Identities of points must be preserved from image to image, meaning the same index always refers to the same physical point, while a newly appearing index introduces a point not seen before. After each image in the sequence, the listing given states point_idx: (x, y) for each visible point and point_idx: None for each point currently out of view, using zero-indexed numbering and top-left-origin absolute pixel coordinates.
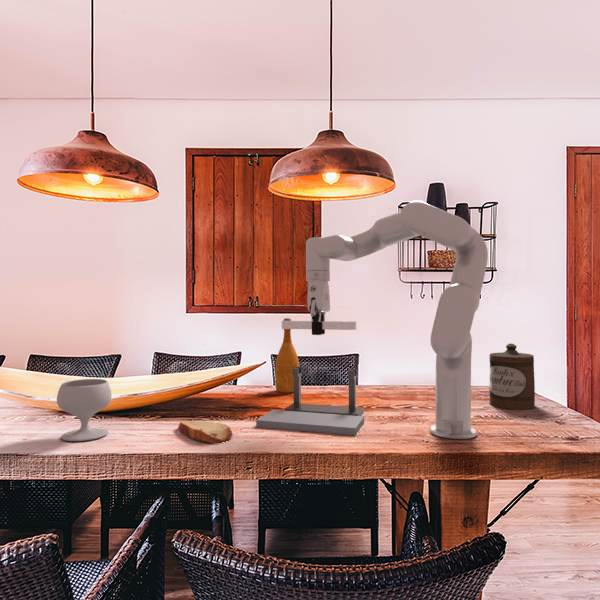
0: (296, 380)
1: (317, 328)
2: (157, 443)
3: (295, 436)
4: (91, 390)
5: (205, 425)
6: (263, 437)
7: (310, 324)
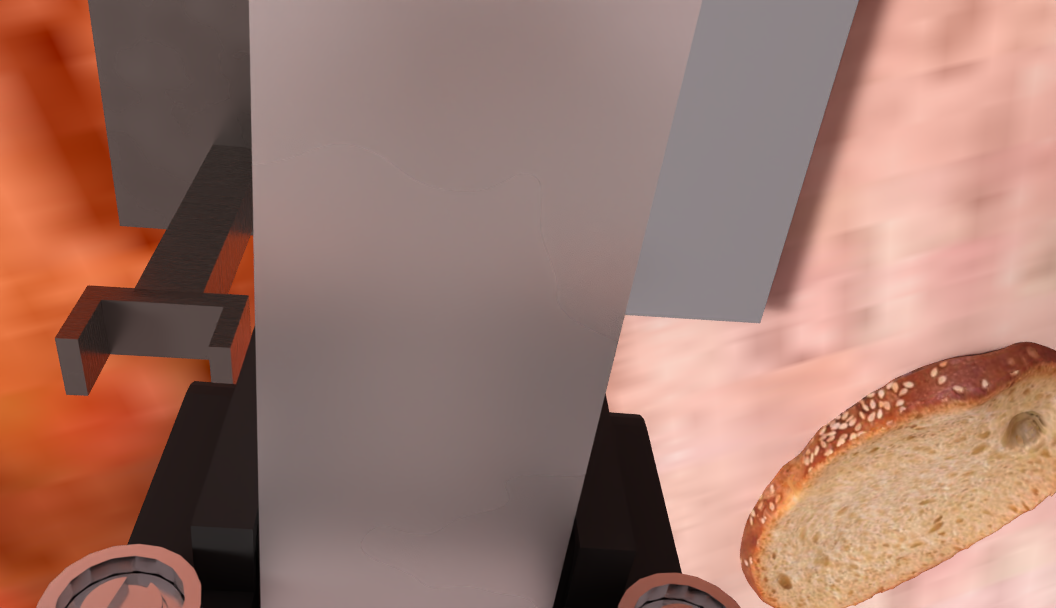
0: (217, 291)
1: (649, 488)
2: (1034, 576)
3: (978, 11)
4: None
5: (843, 514)
6: (983, 199)
7: None
